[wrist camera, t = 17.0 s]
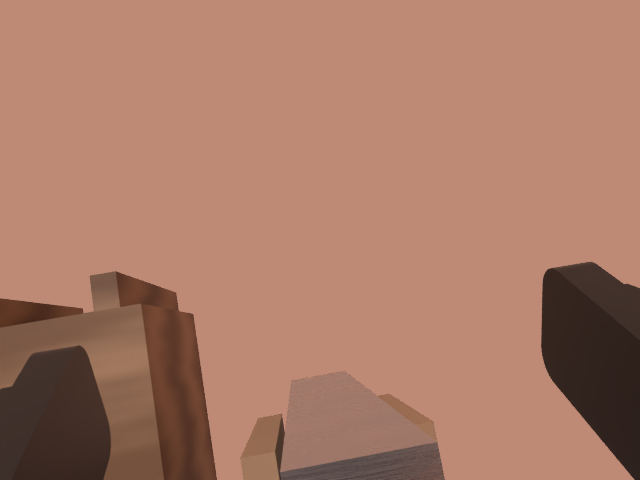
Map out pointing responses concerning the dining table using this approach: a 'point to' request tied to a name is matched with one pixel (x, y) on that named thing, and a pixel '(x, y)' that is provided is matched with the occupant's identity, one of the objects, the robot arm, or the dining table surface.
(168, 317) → the beam stand
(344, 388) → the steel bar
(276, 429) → the cradle post
